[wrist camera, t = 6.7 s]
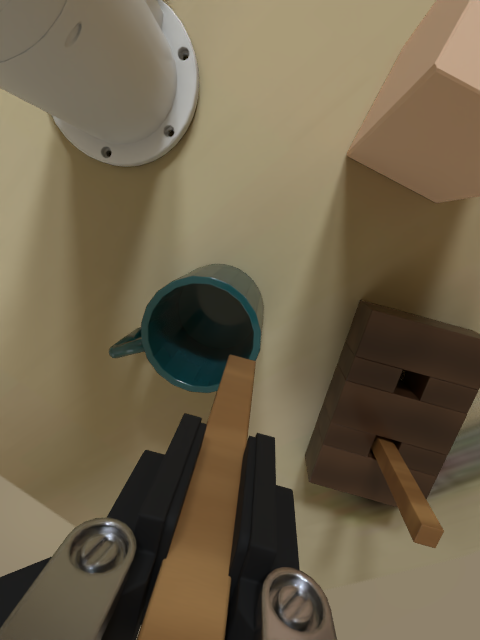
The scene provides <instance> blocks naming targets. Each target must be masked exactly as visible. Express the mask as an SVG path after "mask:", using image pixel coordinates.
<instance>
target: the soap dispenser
mask: <svg viewBox="0 0 480 640" xmlns="http://www.w3.org/2000/svg"><path fill="white" fill-rule="evenodd" d="M347 155H348V157H350V158H352V159H354V160H356V161H358V162H359V163H361V164H363V165H365V166H367V167H369V168H371V169H373V170H375V171H376V172H378V173H380V174H382V175H384V176H386V177H388V178H390V179H392V180H394V181H395V182H397V183H399V184H401V185H403V186H405V187H407V188H409V189H411V190H413V191H414V192H416V193H418V194H420V195H422V196H424V197H426V198H428V199H430V200H432V201H433V202H435V203H441V202H447V201H453V200H459V199H465V198H471V197H478V196H480V0H436V2H435V3H434V4H433V6H432V7H431V9H430V10H429V11H428V13H427V14H426V15H425V17H424V18H423V20H422V21H421V22H420V24H419V25H418V27H417V28H416V29H415V31H414V32H413V34H412V35H411V36H410V38H409V39H408V41H407V42H406V43H405V45H404V46H403V48H402V50H401V52H400V54H399V56H398V58H397V59H396V61H395V63H394V65H393V67H392V69H391V71H390V73H389V75H388V76H387V78H386V80H385V82H384V84H383V86H382V88H381V90H380V92H379V93H378V95H377V97H376V99H375V101H374V103H373V105H372V107H371V109H370V110H369V112H368V114H367V116H366V118H365V120H364V122H363V124H362V126H361V127H360V129H359V131H358V133H357V135H356V137H355V139H354V141H353V142H352V144H351V146H350V148H349V150H348V152H347Z"/></svg>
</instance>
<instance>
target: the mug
mask: <svg viewBox="0 0 480 640" xmlns="http://www.w3.org/2000/svg"><path fill="white" fill-rule="evenodd" d="M263 313H264V305H263V299H262V296H261V293H260V291H259V288H258V287H257V285H256V284H255V282H254V281H253V280H252V279H251V278H250V277H249V276H248V275H247V274H246V273H244V272H243V271H241V270H240V269H238V268H236V267H233V266H230V265H225V264H211V265H206V266H203V267H200V268H197V269H195V270H193V271H191V272H190V273H188V274H186V275H184V276H182V277H180V278H178V279H176V280H174V281H172V282H171V283H169V284H168V285H166V286H165V287H163V288H162V289H160V290H159V291H158V292H157V293H156V294H155V295H154V297H153V298H152V299H151V301H150V302H149V304H148V305H147V307H146V310H145V313H144V316H143V319H142V322H141V323H142V324H141V327H140V328H136V329H135V330H134V331H132V332H131V333H129V334H128V335H127V336H125V337H124V338H123V339H121V340H120V341H118V342H117V343H116V344H114V345H113V346H112V347H111V348H110V349H109V355H110V356H111V357H112V358H120V357H124V356H128V355H132V354H136V353H141V352H145V353H146V356H147V358H148V360H149V362H150V363H151V364H152V366H153V367H154V369H155V370H156V371H157V373H159V375H161V376H162V377H163V378H165V379H166V380H167V381H169V382H170V383H171V384H173V385H175V386H177V387H180V388H182V389H185V390H188V391H191V392H203V393H210V392H215V391H217V390H218V387H219V384H220V381H221V378H222V375H223V372H224V369H225V366H226V363H227V359H228V356H229V355H234V356H238V357H241V358H245V359H249V360H253V361H256V359H257V356H258V354H259V351H260V345H261V335H262V325H263Z"/></svg>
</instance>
